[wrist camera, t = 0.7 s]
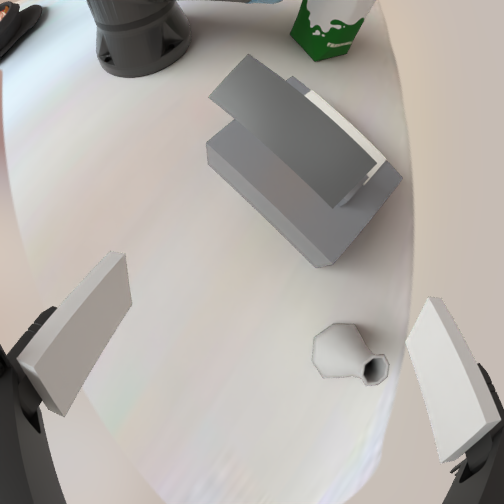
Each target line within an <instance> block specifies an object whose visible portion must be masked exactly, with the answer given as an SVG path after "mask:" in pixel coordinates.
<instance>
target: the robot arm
mask: <svg viewBox="0 0 504 504" xmlns="http://www.w3.org/2000/svg"><path fill="white" fill-rule="evenodd" d="M86 1H87V3H88V5H89V8H90V10H91V13H92V15H93V18H94V20H95V22H96V25H97V38H96V53H97V57H98V59H99V61H100V64H101V66H102V67H103V69H104V70H105V71H107V72H108V73H110V74H112V75H114V76H118V77H139V76H144V75H148V74H151V73H154V72H157V71H159V70H161V69H163V68H165V67H167V66H169V65H171V64H172V63H174V62H175V61H176V60H178V59H179V58H180V57H181V56H182V55H183V54H184V53H185V51H186V50H187V48H188V47H189V44H190V41H191V30H190V24H189V21H188V19H187V18H186V16H185V14H184V13H183V11H182V10H181V8H180V6H179V5H178V3H177V2H176V0H86ZM213 1H231V2H243V3H249V4H251V3H267V4H274V3H278V2H281V1H282V0H213ZM131 306H132V300H131V293H130V286H129V279H128V272H127V264H126V255H125V253H119V252H113V251H110V252H109V253H108V254H107V255H106V256H105V257H104V258H103V259H102V260H101V261H100V262H99V263H98V264H97V265H96V266H95V267H94V268H93V269H92V270H91V271H90V273H89V274H88V275H87V276H86V277H85V278H84V279H83V280H82V281H81V282H80V283H79V284H78V286H77V287H76V288H75V289H74V290H73V291H72V292H71V293H70V294H69V295H68V297H67V298H66V299H65V300H64V301H63V302H62V303H61V305H60V306H59V307H58V308H57V307H54V306H52V307H50V308H49V309H47V310H46V311H44V312H42V313H41V314H40V315H39V317H38V318H37V319H36V320H35V321H34V324H32V325H31V326H30V327H29V328H28V331H26V332H25V333H24V334H23V336H22V337H21V338H20V339H19V340H18V342H17V343H16V344H15V345H14V347H13V348H12V349H11V351H10V352H9V353H8V354H7V355H6V354H5V352H4V350H3V349H2V347H1V345H0V504H66V501H65V498H64V496H63V493H62V490H61V487H60V484H59V481H58V478H57V474H56V471H55V468H54V465H53V461H52V457H51V453H50V450H49V446H48V442H47V438H46V433H45V429H44V424H43V419H42V413H41V410H40V408H39V405H40V403H41V402H42V401H43V402H44V404H45V405H46V407H47V408H48V410H50V411H52V412H54V413H56V414H59V415H61V416H63V417H65V416H66V414H67V412H68V410H69V409H70V407H71V405H72V403H73V401H74V400H75V398H76V396H77V394H78V392H79V391H80V389H81V387H82V385H83V384H84V382H85V380H86V378H87V377H88V375H89V373H90V372H91V370H92V368H93V367H94V365H95V363H96V362H97V360H98V358H99V357H100V355H101V353H102V352H103V350H104V348H105V347H106V345H107V343H108V342H109V340H110V339H111V337H112V335H113V334H114V332H115V331H116V329H117V327H118V326H119V324H120V323H121V321H122V320H123V318H124V316H125V315H126V313H127V312H128V310H129V309H130V307H131ZM405 343H406V346H407V349H408V352H409V355H410V358H411V360H412V363H413V366H414V369H415V372H416V375H417V379H418V382H419V384H420V388H421V391H422V395H423V398H424V402H425V405H426V408H427V412H428V416H429V419H430V423H431V426H432V431H433V435H434V439H435V443H436V447H437V451H438V456H439V460H440V463H445V462H450V461H454V460H456V459H458V458H459V457H460V456H461V455H463V454H464V453H465V454H466V457H467V458H466V459H465V460H463V461H462V462H461V463H459V464H458V465H457V466H455V467H454V468H453V469H452V470H451V472H450V473H453V472H455V471H456V470H457V469H459V470H458V472H457V473H456V474H455V476H456V477H455V479H454V481H453V483H452V486H451V488H450V490H449V492H448V494H447V496H446V498H445V499H444V501H443V503H442V504H504V409H503V407H502V404H501V402H500V400H499V397H498V395H497V392H495V388H494V386H493V385H492V381H491V379H490V377H489V375H488V373H487V372H486V370H485V369H484V368H483V367H482V366H481V365H480V363H478V364H477V363H476V361H475V359H474V357H473V355H472V353H471V351H470V349H469V347H468V345H467V343H466V341H465V339H464V337H463V335H462V333H461V332H460V330H459V328H458V326H457V324H456V323H455V321H454V319H453V317H452V316H451V314H450V312H449V310H448V309H447V307H446V305H445V304H444V302H443V300H442V299H441V298H435V297H428V298H427V300H426V303H425V304H424V307H423V309H422V311H421V313H420V315H419V317H418V319H417V321H416V323H415V325H414V327H413V328H412V330H411V333H410V334H409V336H408V338H407V340H406V342H405Z"/></svg>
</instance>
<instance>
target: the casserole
mask: <svg viewBox="0 0 504 504" xmlns="http://www.w3.org/2000/svg"><path fill="white" fill-rule="evenodd" d="M19 8H20V6H19V4H15V3H12V2H9V1H8V2H5V3H2V4H0V57H1V56H2V55H3V54H5V53H6V52H7V51H8V50H9V49H10V47H11V46H12V45H13V44H14V43H15V42H16V41H17V40H18V39H19V38H20V37H21V36H22V35H23V34H24V33H25V32H27V31H28V30H29V29H30V28H31V27H33V26H34V24H35V23H36V22H37V21H38V19H39V18H40V16H41V13H42V7H41V6H40V5H32V6H30V7H28V8H26V9H24V10H22V11H20V12H19Z"/></svg>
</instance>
